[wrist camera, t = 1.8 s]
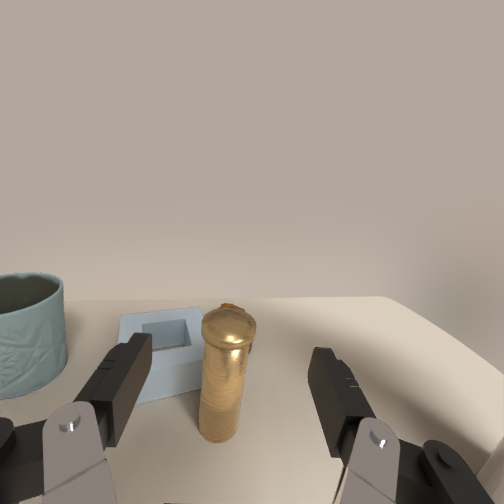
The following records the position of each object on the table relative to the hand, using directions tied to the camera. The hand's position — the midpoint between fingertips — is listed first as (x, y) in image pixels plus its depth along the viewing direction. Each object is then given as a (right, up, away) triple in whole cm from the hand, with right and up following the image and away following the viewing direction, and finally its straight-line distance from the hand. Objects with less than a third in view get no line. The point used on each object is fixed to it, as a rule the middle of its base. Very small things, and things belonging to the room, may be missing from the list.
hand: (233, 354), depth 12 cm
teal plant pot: (-29, -11, +20) cm, 37 cm away
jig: (-12, -11, +24) cm, 29 cm away
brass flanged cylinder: (-3, -15, +17) cm, 23 cm away
